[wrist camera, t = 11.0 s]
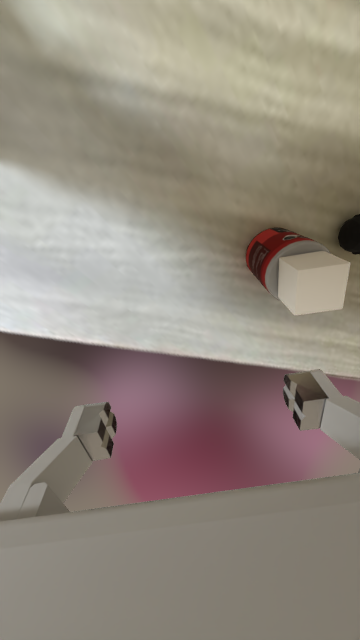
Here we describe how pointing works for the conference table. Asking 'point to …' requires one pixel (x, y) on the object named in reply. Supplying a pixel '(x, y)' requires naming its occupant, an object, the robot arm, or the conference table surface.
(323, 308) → the cream cube
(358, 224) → the microphone
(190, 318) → the conference table surface
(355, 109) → the conference table surface
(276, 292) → the canned food
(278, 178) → the conference table surface
